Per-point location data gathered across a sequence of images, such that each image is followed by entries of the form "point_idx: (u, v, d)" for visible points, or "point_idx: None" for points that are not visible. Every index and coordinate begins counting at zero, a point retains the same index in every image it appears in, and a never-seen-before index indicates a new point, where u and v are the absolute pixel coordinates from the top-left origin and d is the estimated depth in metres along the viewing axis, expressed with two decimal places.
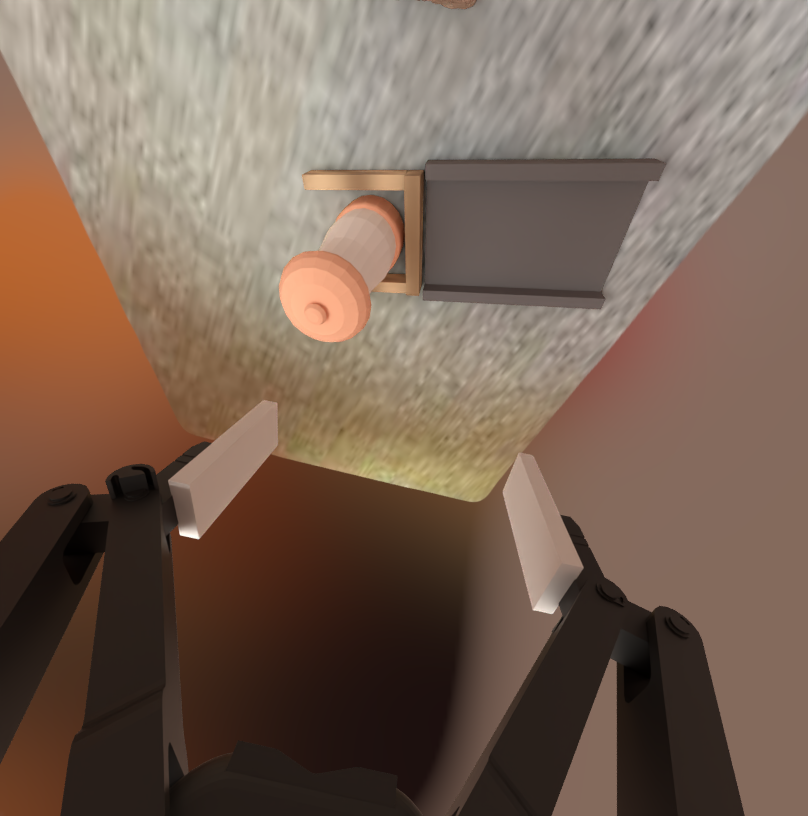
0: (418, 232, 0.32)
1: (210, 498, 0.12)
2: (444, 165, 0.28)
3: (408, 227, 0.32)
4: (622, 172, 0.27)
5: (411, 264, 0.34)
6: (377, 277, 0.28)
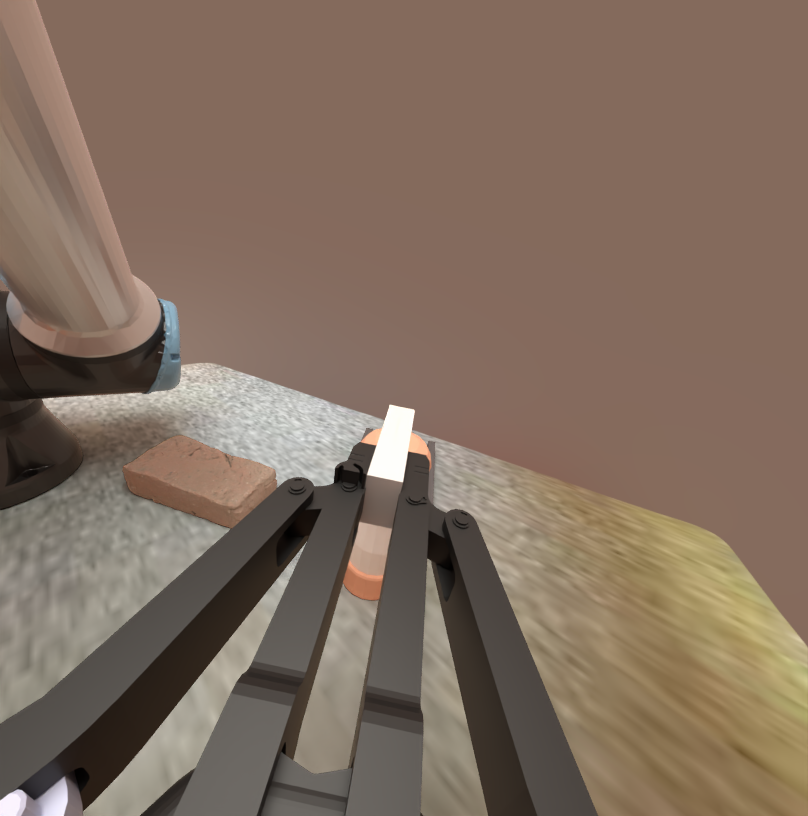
0: None
1: None
2: None
3: None
4: None
5: None
6: None
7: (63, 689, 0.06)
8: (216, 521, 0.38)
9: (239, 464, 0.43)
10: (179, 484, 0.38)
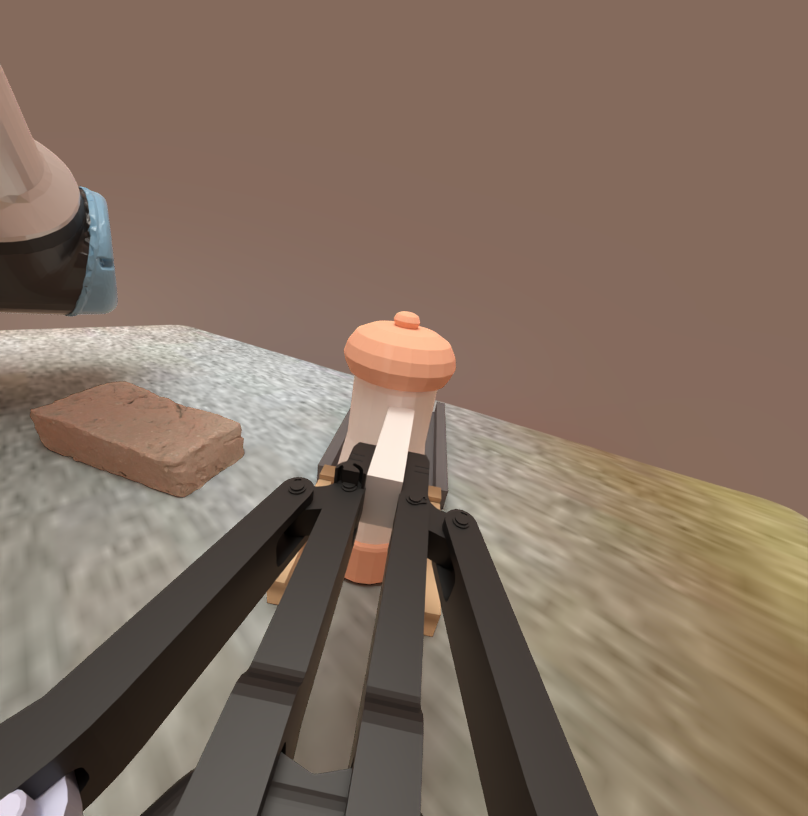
0: None
1: None
2: (324, 455, 0.33)
3: None
4: None
5: None
6: None
7: (63, 689, 0.06)
8: (152, 484, 0.28)
9: (193, 415, 0.32)
10: (102, 433, 0.28)
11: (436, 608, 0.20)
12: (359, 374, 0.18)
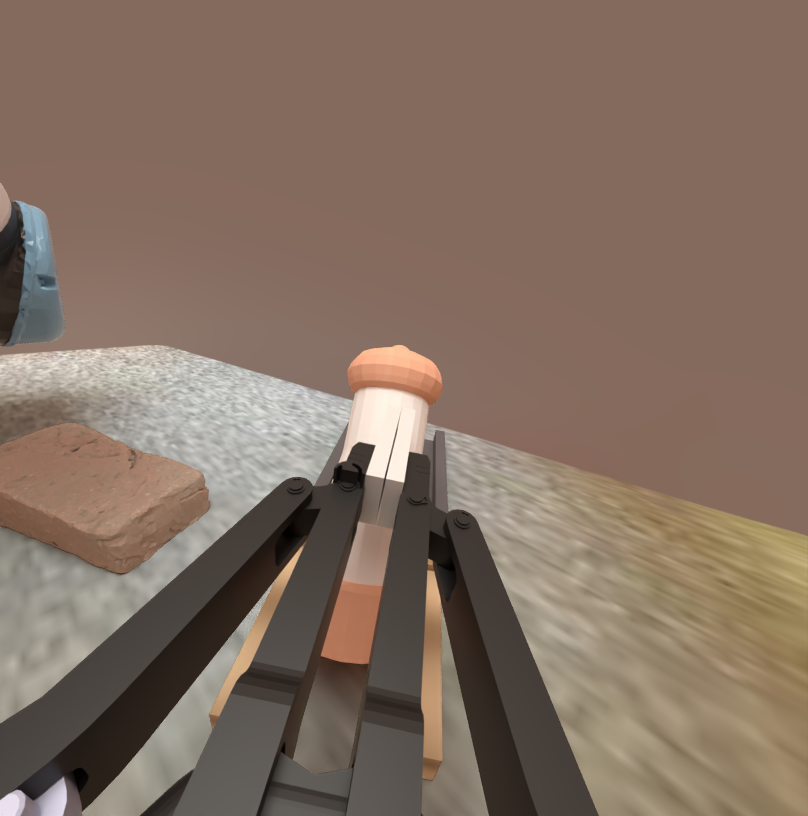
0: None
1: (382, 490, 0.14)
2: None
3: None
4: None
5: None
6: None
7: (62, 690, 0.06)
8: (87, 558, 0.23)
9: (147, 465, 0.27)
10: (27, 497, 0.23)
11: (436, 748, 0.15)
12: (364, 375, 0.21)
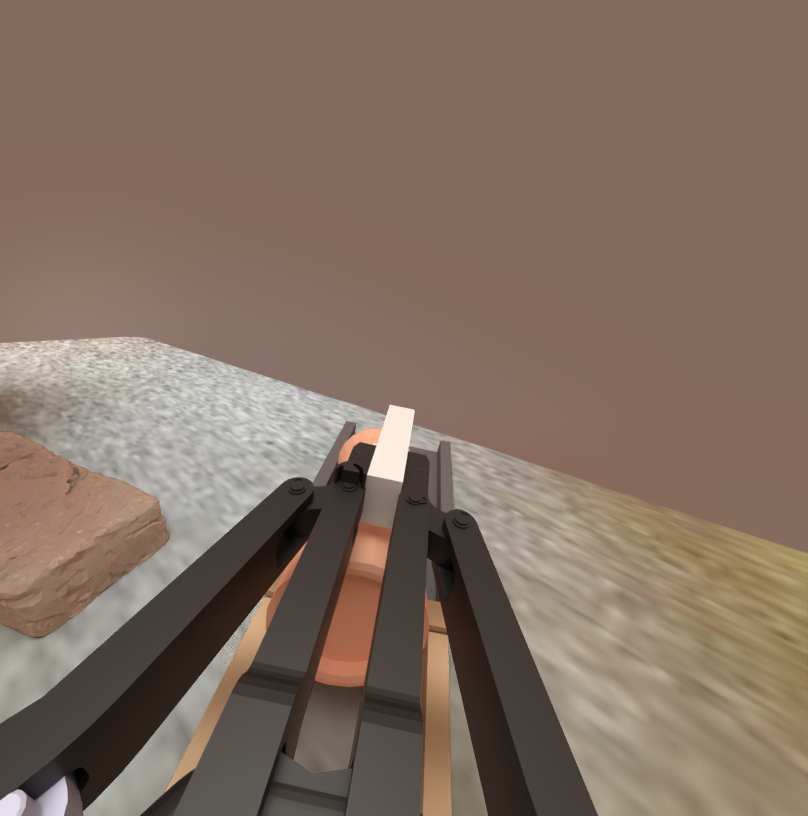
0: None
1: None
2: None
3: None
4: (344, 435, 0.36)
5: None
6: None
7: (63, 689, 0.06)
8: None
9: (89, 489, 0.22)
10: None
11: None
12: (354, 439, 0.28)
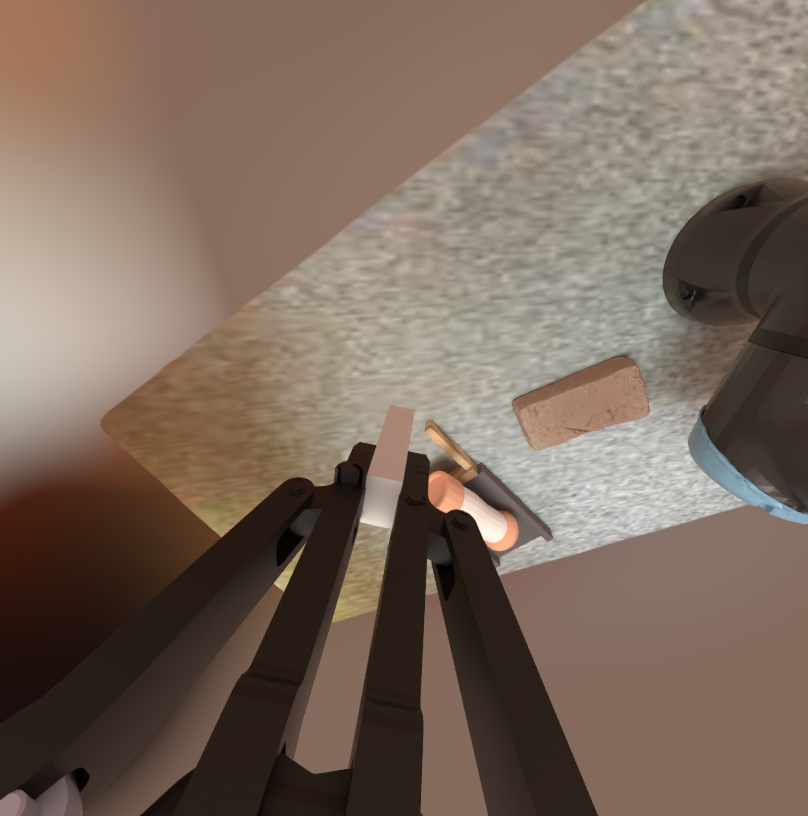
0: None
1: None
2: (489, 477, 0.53)
3: None
4: (540, 530, 0.57)
5: None
6: None
7: (63, 689, 0.06)
8: (530, 393, 0.48)
9: (563, 434, 0.47)
10: (575, 391, 0.43)
11: None
12: (511, 535, 0.53)
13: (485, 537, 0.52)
